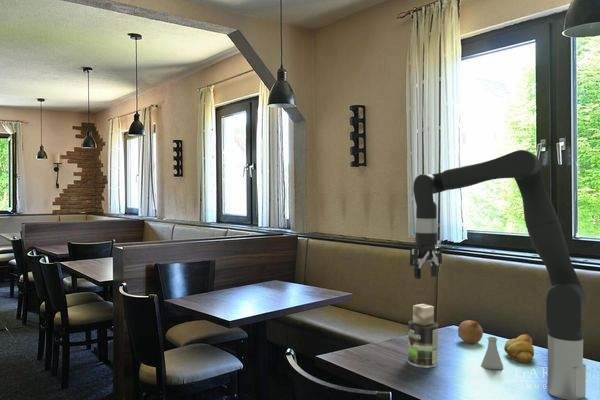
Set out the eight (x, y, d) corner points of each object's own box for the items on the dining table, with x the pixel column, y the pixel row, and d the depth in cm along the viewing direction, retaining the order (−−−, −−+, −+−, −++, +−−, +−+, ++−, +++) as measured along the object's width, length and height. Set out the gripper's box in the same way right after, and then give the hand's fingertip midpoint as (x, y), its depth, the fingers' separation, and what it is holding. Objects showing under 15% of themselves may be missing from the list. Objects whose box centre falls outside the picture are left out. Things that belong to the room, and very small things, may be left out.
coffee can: (420, 369, 165) (421, 328, 165) (401, 360, 174) (402, 320, 174) (444, 365, 169) (444, 324, 169) (424, 356, 179) (425, 317, 179)
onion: (478, 352, 192) (486, 333, 188) (454, 344, 195) (462, 324, 190) (478, 337, 201) (486, 318, 196) (455, 329, 203) (462, 311, 198)
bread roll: (537, 366, 170) (538, 343, 169) (507, 363, 172) (507, 340, 172) (530, 354, 182) (530, 333, 182) (502, 352, 185) (502, 330, 184)
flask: (505, 371, 164) (505, 341, 164) (482, 369, 166) (483, 340, 166) (501, 363, 171) (501, 335, 171) (479, 362, 173) (479, 334, 173)
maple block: (433, 323, 171) (433, 306, 171) (424, 325, 168) (424, 308, 168) (422, 320, 175) (422, 303, 175) (412, 322, 172) (413, 305, 172)
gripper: (421, 232, 164) (420, 281, 164) (448, 231, 172) (447, 277, 172) (404, 231, 170) (403, 278, 170) (431, 229, 178) (430, 274, 178)
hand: (426, 277), depth 171 cm, fingers open, 8 cm apart
